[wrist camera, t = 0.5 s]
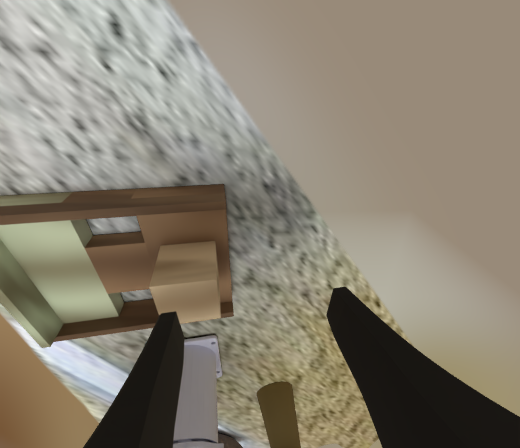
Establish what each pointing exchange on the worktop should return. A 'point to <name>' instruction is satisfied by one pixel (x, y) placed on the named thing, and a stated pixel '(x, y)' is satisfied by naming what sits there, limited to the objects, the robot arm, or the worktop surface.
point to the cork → (279, 415)
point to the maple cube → (187, 281)
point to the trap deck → (100, 256)
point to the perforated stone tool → (228, 441)
